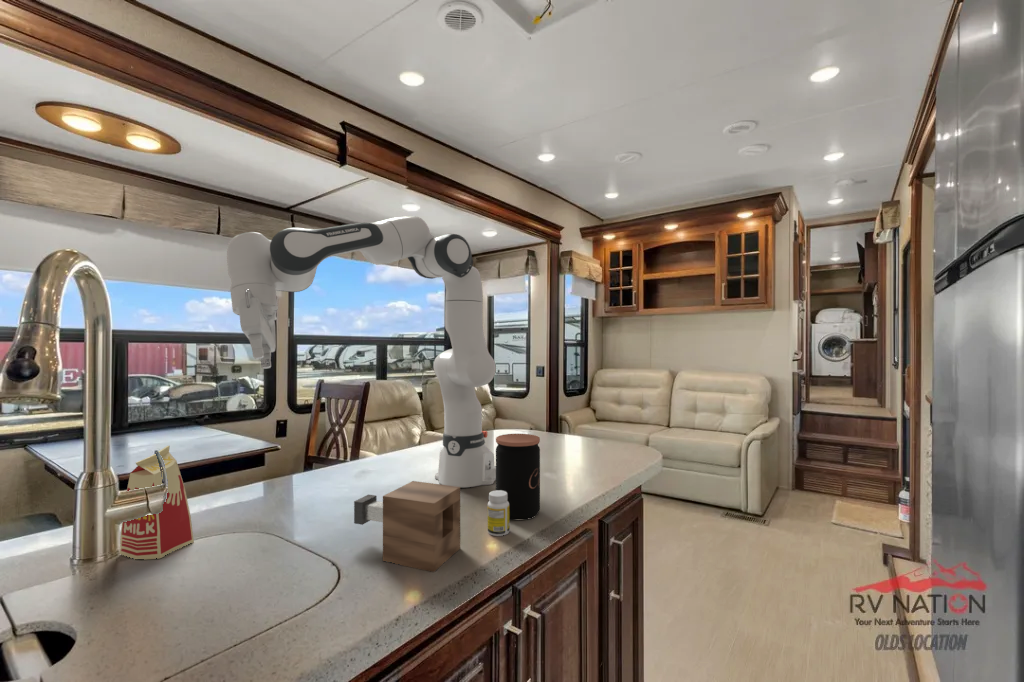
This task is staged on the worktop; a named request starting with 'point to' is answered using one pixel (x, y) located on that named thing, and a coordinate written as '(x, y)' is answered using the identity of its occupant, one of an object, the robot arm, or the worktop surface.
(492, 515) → the supplement bottle
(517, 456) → the coffee jar
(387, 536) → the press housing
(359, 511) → the plunger
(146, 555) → the milk carton
